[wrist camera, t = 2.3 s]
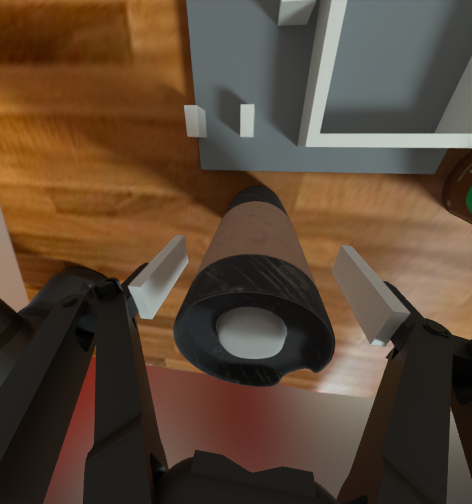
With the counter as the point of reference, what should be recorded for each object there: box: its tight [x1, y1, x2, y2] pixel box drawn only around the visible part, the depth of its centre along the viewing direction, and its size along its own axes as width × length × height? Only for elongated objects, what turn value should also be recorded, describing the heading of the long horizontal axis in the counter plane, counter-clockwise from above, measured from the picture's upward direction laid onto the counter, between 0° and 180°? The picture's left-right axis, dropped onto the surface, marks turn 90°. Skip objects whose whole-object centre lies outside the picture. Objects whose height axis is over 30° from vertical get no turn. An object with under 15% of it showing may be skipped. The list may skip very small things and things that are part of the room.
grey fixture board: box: [186, 0, 472, 174], centre depth 16 cm, size 26×19×2 cm
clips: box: [184, 0, 316, 138], centre depth 14 cm, size 10×14×3 cm
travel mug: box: [174, 186, 335, 387], centre depth 17 cm, size 8×8×20 cm
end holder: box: [297, 0, 472, 148], centre depth 13 cm, size 14×14×4 cm
